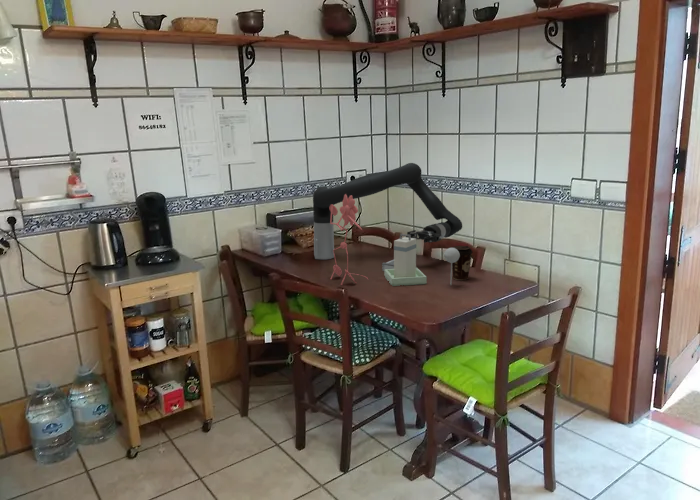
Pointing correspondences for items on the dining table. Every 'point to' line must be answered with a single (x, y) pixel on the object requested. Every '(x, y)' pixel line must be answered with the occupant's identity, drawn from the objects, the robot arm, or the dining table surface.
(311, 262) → the dining table surface
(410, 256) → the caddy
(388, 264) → the bay
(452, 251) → the lollipop
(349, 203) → the figurine
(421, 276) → the tray
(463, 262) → the coffee cup
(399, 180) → the robot arm
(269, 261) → the dining table surface
